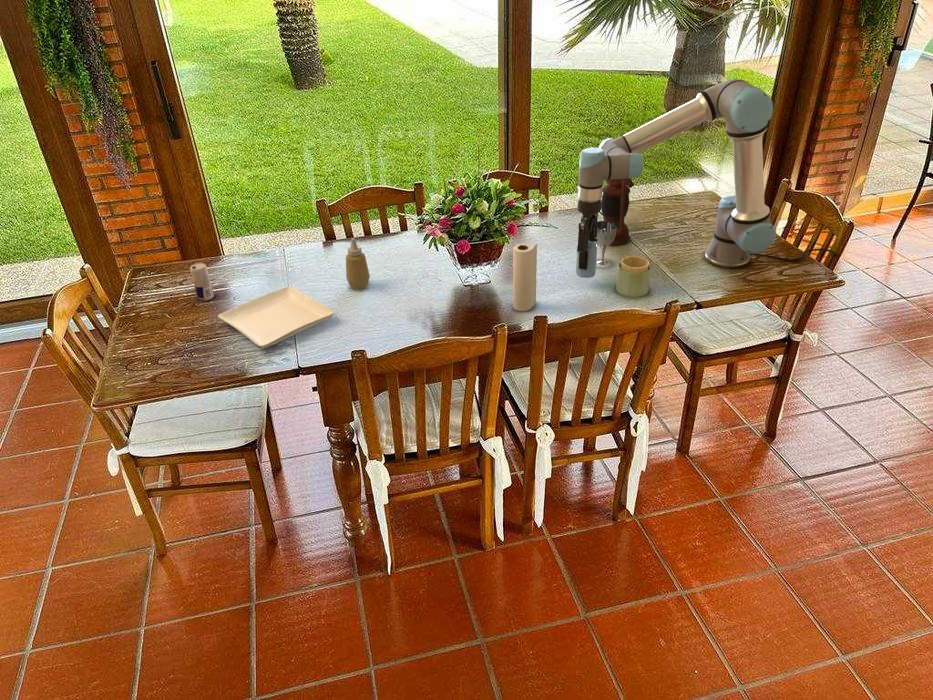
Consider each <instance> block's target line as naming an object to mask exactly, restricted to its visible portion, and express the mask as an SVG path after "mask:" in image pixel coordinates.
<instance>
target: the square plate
mask: <svg viewBox="0 0 933 700" xmlns="http://www.w3.org/2000/svg"><path fill="white" fill-rule="evenodd" d="M333 315H335V311H334V310H332V309H330V308H329V307H327V306H326V305H324V304H322V303H320V302H319V301H317V300H315V299H314V298H311V297H310V296H308V295H306V294H305V293H303V292H301V291H300V290H299V289H296V288H294V287H292V286H290V285H288V286H285V287H282V288H279V289H277V290H274V291H272V292H268V293H266V294H264V295H261V296H259V297H256V298H253V299H252V300H249V301H247V302H244V303H241V304H239V305H237V306H235V307H232V308H230V309H227V310H226V311H223V312H221V313H219V314H217V317H218V318H219V319H220V320H222V321H223V322H225V323H226V324H227V325H229V326H230V327H232V328H234V329H235V330H236V331H238V332H239V333H241V334H242V335H243V336H245V337H246V338H247V339H249V340H250V341H251V342H252V343H253V344H255V345H256V346H258V347H259V348H261V349H266V348H270V347H271V346H273V345H275V344H278V343H280V342H282V341H284V340H286V339H288V338H290V337H292V336H295V335H296V334H300V333H301V332H303V331H305V330H308V329H310V328H312V327H315V326H316V325H319V324H321V323H324V322H325V321H327V320H329V319H330V318H332V316H333Z"/></svg>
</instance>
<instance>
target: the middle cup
mask: <svg viewBox="0 0 933 700" xmlns="http://www.w3.org/2000/svg"><path fill="white" fill-rule="evenodd" d="M620 262H621V269H622V270H624V271H626V272H629V273H644V272H647V271H648V267H649V264H650V261H649V260H648V259H647V258H645V257H642V256H637V255H636V256H635V255H631V256H625V257H623V258H622V259H621V261H620Z"/></svg>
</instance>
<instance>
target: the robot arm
mask: <svg viewBox="0 0 933 700" xmlns="http://www.w3.org/2000/svg"><path fill="white" fill-rule="evenodd" d="M773 110H774V105H773V100H772V99H771V97H770V96H769V95H768V94H767V92H766V91H764V90H763V89H762V88H760V87H758V86H755V85H753V84H751V83H749V82H748V81H746V80H744V79H740V78H733V79H727V80H724V81H721V82H719V83H717V84H715V85H712V86H711V87H708V88H706V89H704V90H703V91H700V92H698V93H697V95H696V97H695V98H693V99H692V100H690V101H687V102H685V103H684V104H682V105H680V106H678V107H676V108H674V109H672V110H670V111H668V112H666V113H665V114H662V115H660V116H659V117H656V118H654V119H653V120H650V121H649V122H646V123H645V124H642V125H641V126H639V127H637V128H635V129H633V130H631V131H629V132H627V133H625V134H623V135H621V136H619V137H617V138H614V137H609V138H605V139H604V140H602V141H601V142H600V144H599V146H598V147H587V148H584V149H583V150H581V151H580V153H579V161H578V186H577V187H576V190H577V207H576V209H577V211H578V212H579V213H581V214H582V216H581V218H580V222H579V223H578V234H577V244H578V247H577V246H576V253H577V252H579V269H583V270H587V263H588V251H587V248H588V241H592V242H595V243H597V240H598V239H595V238H597V224H598V222H599V218H598V217H599V213H600V212H602V210H601V203H602V196H603V192H602V188H603V187H604V186H603V185H604V181H605V180H612V179H630V178H631V179H635V178H636V179H637V178H640V177H641V176H642V174H643V170H644V159H643V155H642V153H643V152H645V151H647V150H649V149H651V148H653V147H655V146H657V145H659V144H661V143H663V142H665V141H666V140H669V139H671V138H673V137H675V136H677V135H679V134H681V133H683V132H685V131H688V130H689V129H692V128H694V127H695V126H698V125H699V124H701V123H703V122H708V123H710V122H711V123H712V122H713V121H715V120H717V119H721V118H724V120H725V132H726V133H725V134H726V136H727V137H728V138H729V139H731V143H732V144H731V145H732V163H733V173H734V174H733V177H734V194H735V195H729V196H725V197H722V198H721V199H720V201H719V203H718V207H717V214H716V220H715V226H714V232H713V237H712V239H711V241H710V243H709V245H708V246H707V248H706V250H705V253H704V254H705V255H704V258H705V261H707V262H708V263H709V264H711V265H714V266H716V267H719V268H722V269H723V268H724V269H741V268H743V267H746V266H748V265H749V264H750V260H751V256H756V257H763V258H764V257H765V258H771V259H777V260H783V261H790V262H793V261H795V262H796V261H799V260H802V259H803V257H804V256H805V255H806V253H808V252H809V253H810V252H817V251H818V252H820V251H823V252H829V253H831V254H833V255H834V256H838V254H837V252H835V251H834V250H832V249H828V248H811V249H806V250H804V251H803V252H802V253H801V255H800V256H799V257H797V258H787V257H781V256H776V255H771V254H770V255H769V254H762V253H763V252H765V251H767V250H768V249H769V248H770V246H772V245H773V244H774V243H775V240H776V238H777V230H776V228H775V225H773V224H772V223H771V210H770V207H769V206H768V205H766V204H765V185H764V183H765V181H764V155H763V134H765V132H766V131H767V130H768V122H769V121H770V120H771V118H772V116H773V112H774V111H773Z"/></svg>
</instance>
